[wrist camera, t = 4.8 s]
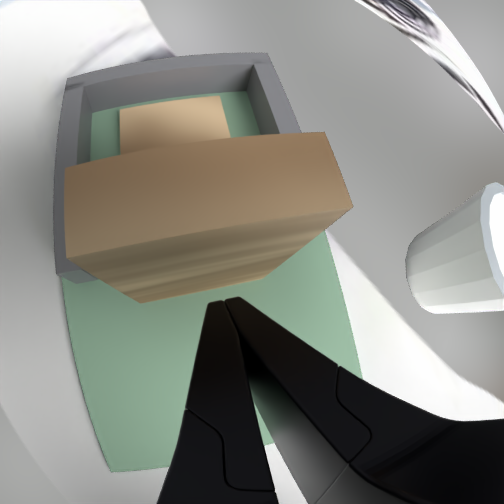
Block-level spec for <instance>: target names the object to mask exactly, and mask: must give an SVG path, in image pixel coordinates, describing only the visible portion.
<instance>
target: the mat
mask: <svg viewBox="0 0 504 504" xmlns="http://www.w3.org/2000/svg"><path fill="white" fill-rule="evenodd" d="M208 96H220V99H221V102H222V106H223V110H224V114H225V118H226V121H227V125H228V129H229V133H230V137H231V138H234V137H244V136H256V135H261V134H260V131H259V128H258V125H257V122H256V119H255V116H254V113H253V110H252V107H251V104H250V101H249V98H248V95H247V92H246V91H239V92H223V93H210V94H200V95H191V96H182V97H174V98H167V99H160V100H154V101H148V102H142V103H136V104H131V105H126V106H121V107H116V108H111V109H107V110H102V111H98V112H94V113H92V126H91V152H90V161H95V160H99V159H103V158H108V157H112V156H117V155H121V151H120V109H125V108H130V107H136V106H141V105H147V104H153V103H159V102H166V101H173V100H181V99H189V98H198V97H208ZM62 284H63V293H64V301H65V308H66V315H67V321H68V327H69V333H70V338H71V343H72V348H73V353H74V358H75V362H76V366H77V371H78V375H79V379H80V383H81V386H82V390H83V394H84V397H85V401H86V404H87V408H88V411H89V414H90V417H91V420H92V423H93V426H94V429H95V432H96V435H97V438H98V441H99V443H100V446H101V449H102V451H103V454H104V457H105V459H106V462H107V464H108V466H109V469H110V471H111V472H124V471H136V470H146V469H155V468H163V467H170V464H171V460H172V457H173V454H174V451H175V447H176V444H177V440H178V436H179V431H180V427H181V423H182V418H183V413H184V410H185V404H186V399H187V394H188V389H189V384H190V380H191V375H192V370H193V365H194V361H195V356H196V352H197V347H198V343H199V338H200V334H201V329H202V325H203V320H204V316H205V312H206V307H207V304H208V303H209V302H213V301H218V300H223V301H225V299H227V298H232V297H237V296H239V297H242V298H243V299H244V300H246V301H247V302H249V303H250V304H251V305H253V306H254V307H256V308H257V309H258V310H260V311H261V312H263V313H264V314H266V315H267V316H268V317H270V318H271V319H273V320H274V321H276V322H277V323H278V324H280V325H281V326H283V327H284V328H286V329H287V330H288V331H290V332H291V333H293V334H294V335H296V336H297V337H299V338H300V339H302V340H303V341H305V342H306V343H307V344H309V345H310V346H312V347H313V348H315V349H316V350H318V351H319V352H321V353H322V354H324V355H325V356H327V357H328V358H330V359H331V360H333V361H334V362H336V363H337V364H338V367H339V366H342V367H344V368H345V369H347V370H348V371H350V372H351V373H353V374H354V375H356V376H358V377H359V378H361V379H363V378H362V373H361V369H360V364H359V359H358V355H357V350H356V346H355V341H354V337H353V333H352V329H351V325H350V320H349V316H348V312H347V308H346V304H345V301H344V297H343V293H342V289H341V285H340V282H339V278H338V274H337V271H336V267H335V264H334V260H333V257H332V253H331V250H330V246H329V243H328V240H327V236H326V233H325V230H324V231H323V232H322V233H320V234H319V235H318V236H317V237H315V238H314V239H313V240H311V241H310V242H309V243H308V244H306V245H305V246H304V247H303V248H301V249H300V250H299V251H298V252H296V253H295V254H294V255H292V256H291V257H290V258H289V259H287V260H286V261H285V262H284V263H282V264H281V265H280V266H278V267H277V268H276V269H275V270H273V271H272V272H271V273H269V274H268V275H267V276H266V277H264V278H263V279H259V280H255V281H250V282H245V283H241V284H236V285H231V286H227V287H222V288H217V289H212V290H207V291H202V292H197V293H192V294H187V295H182V296H177V297H172V298H167V299H162V300H157V301H152V302H146V303H141V304H140V303H139V302H137V301H135V300H133V299H132V298H130V297H128V296H126V295H125V294H123V293H121V292H120V291H118V290H116V289H115V288H113V287H111V286H110V285H108V284H106V283H105V282H103V281H101V280H100V279H98V280H94V281H89V282H84V283H79V284H75V283H73V282H71V281H69V280H67V279H65V278H63V277H62ZM253 402H254V401H253ZM254 406H255V410H256V414H257V419H258V423H259V427H260V431H261V435H262V440H263V444H264V446H265V445H268V444H271V443H274V441H273V439H272V437H271V435H270V433H269V431H268V429H267V427H266V425H265V423H264V421H263V419H262V417H261V415H260V413H259V411H258V409H257V407H256V405H255V403H254Z"/></svg>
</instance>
